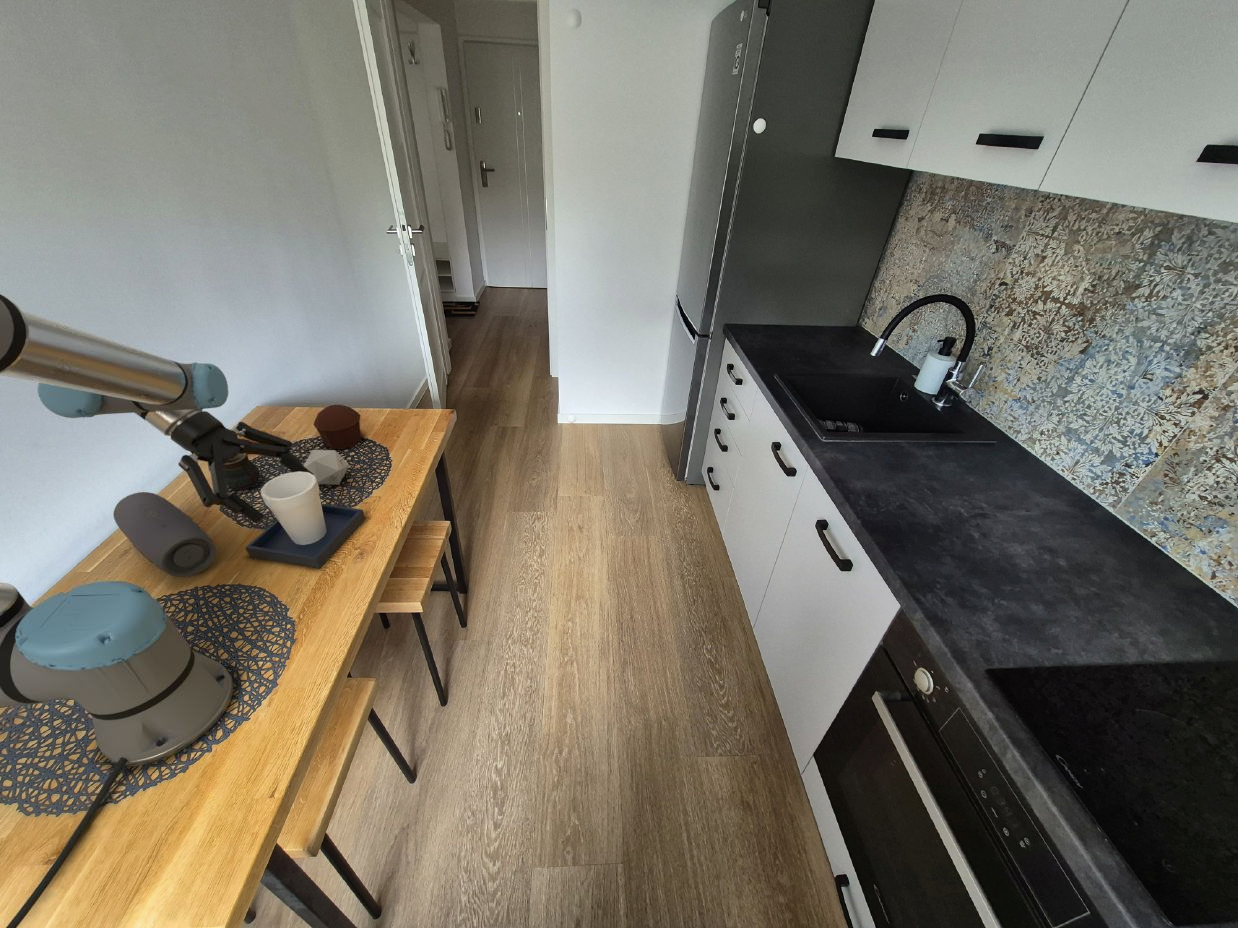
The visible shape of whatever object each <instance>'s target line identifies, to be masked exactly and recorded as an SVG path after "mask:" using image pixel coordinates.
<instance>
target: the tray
mask: <svg viewBox="0 0 1238 928" xmlns="http://www.w3.org/2000/svg"><path fill="white" fill-rule="evenodd" d="M321 506H322V511H323V516H324V521H325V526H326V531H327V532H326V533H325V535H324V537H322V538H321V539H320V540H318V541H316V542H314V543H312V544H306V545H299V544H296V543H295V542H293V540H292V539H291V538H290V536H289V535H288V534H287V532H286V531H285V529H284V528H283V527H282V525H281V524H280V522H279V521H278V519H277V518H276V520H275V521H273V523H271V524H270V525H269V526H268V527H267V528H266V529H264V530H263V531H262V532H261V533H260V534H259V535H258V536H256V538H255V539H253V540H252V541H251V542H250V543H249V544H247V545H246V546H245V550H246V552H247V554H248V555H249V557H250V558H253V559H254V558H255V559H261V560H267V561H271V562H278V563H284V564H289V565H290V564H291V565H296V566H302V567H308V568H314V569H321V568H322V567H323V566H325V564H326V563H327V561H329V560H330V558H331V557H332V556H333V555H334V554H335V553H336V552H337V551H338V550H339V548H340V547H341V546H342V545H343V544H344V543H345V542H346V541H347V540H348V538H350V536H352V534H353V533H354V532H355V531H356V530H357V528H359V527H360V525H361V524H363V522H364V521H365V520H366V515H365V512H364V509H362V508H361V509H360V508H354V507H347V506H340V505H335V504H327V503H321Z"/></svg>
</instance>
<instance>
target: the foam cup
mask: <svg viewBox="0 0 1238 928" xmlns="http://www.w3.org/2000/svg"><path fill="white" fill-rule="evenodd" d="M319 486H320V485H319V484H318V483H317V480H316V478H315V476H314V475H312V474H311V473H309V472H300V471H299V472H292V471H291V472H287V473H286V472H285V473H284V474H280V475H278V476H275V477H274V478H272V479H270V480H268V481H267V482H266V483H264V485H263V486H262V487H261V489H260V496H261V498H262V500H263V502H264V504H265V506H267V507H268V508H269V510H270V511H271V513H272V514H273V515H274V517H275V518H276V520H277V519H278V521H279V522H280V524H281V525H282V527H283V528H284V529H285V531H286V532H287V534H288V535H289V536H290V538H291V539H292V540H293V542H295V543H296V544H299V545H306V544H312V543H314V542H316V541H318V540H320V539H321V538H322V537H324V535H325V533H326V532H327V531H326V526H325V521H324V516H323V511H322V506H321V497H320V487H319Z"/></svg>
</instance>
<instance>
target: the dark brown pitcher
mask: <svg viewBox="0 0 1238 928" xmlns="http://www.w3.org/2000/svg"><path fill="white" fill-rule="evenodd" d="M222 466H223V472H224V477H225V483H226V487H228V488H229V489H232V490H235V491H245V490H248V489H251V488H254V487H255V486H257V485H258V483H259V481H260V478H261V475H260V469H259V467H258V466H257V465H256V464H255V463H254V462H252V461H251V460H250V459H249V456H248V453H244V454H241V453H238V455H237V456H236V457H234V458H231V459H229V460H228V462H226V463H225V464H222Z"/></svg>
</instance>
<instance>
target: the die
mask: <svg viewBox="0 0 1238 928" xmlns="http://www.w3.org/2000/svg"><path fill="white" fill-rule="evenodd" d="M303 466H304V467H305V468H307V469H308V470H309V471H311V472H312V473H313V474H314V476H315V478H316V480H317V483H318V485H329V486H330V485H331V486H334V485H336V486H340V483H341V482H342V480H343V478H344V476H345V474H346V473H347V471H348V469H349V468H350V464H349V463H348V462H347V461H346V460H345V459H344V458H343V457H342V455H340V454H339V452H337V451H336V449H332V450H331V449H312V450H311V452H310V454H309V455H308V457H307V459H306V461H305V462H304V464H303Z"/></svg>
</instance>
